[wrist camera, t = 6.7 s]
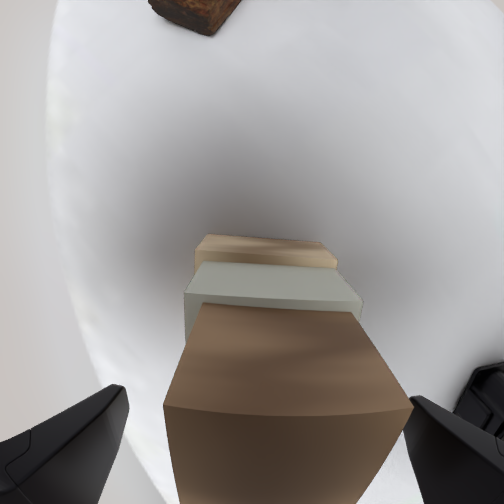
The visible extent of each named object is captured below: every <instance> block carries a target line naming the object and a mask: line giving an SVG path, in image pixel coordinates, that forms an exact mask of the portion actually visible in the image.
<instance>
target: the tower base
mask: <svg viewBox="0 0 504 504" xmlns="http://www.w3.org/2000/svg"><path fill="white" fill-rule="evenodd" d="M203 261H217V262H234V263H251V264H268V265H286V266H305V267H324V268H335V269H336V270H337V264H338V260H337V259H336V257H335V256H334V255H333V254H332V253H331V252H329V251H328V250H327V249H326V248H325V247H324V246H323V245H322V244H321V243H320V242H308V241H296V240H283V239H270V238H256V237H243V236H229V235H214V234H207V235H206V237H205V238H204V239H203V240H202V242H201V243H200V244H199V245H198V246H197V248H196V249H195V265H194V275H195V274H196V272H197V270H198V269H199V267H200V265H201V264H202V262H203Z"/></svg>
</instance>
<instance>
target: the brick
mask: <svg viewBox="0 0 504 504" xmlns="http://www.w3.org/2000/svg"><path fill="white" fill-rule="evenodd" d="M240 1H241V0H148V3H149V4H150V5H151V6H152V9H153V10H154V11H155V12H156V13H157V14H158V15H160V16H162V17H164V18H166V19H167V20H169V21H172V22H174V23H176V24H179V25H181V26H184V27H186V28H188V29H192V30H195V31H197V32H198V33H200V34H203V35H206V36H207V35H212V34H214V33H215V32H216V30H217V29H218V28H219V26H220V25H221V24H222V23H223V22H224V21H225V19H226V18H227V17H228V16H229V15H230V14H231V13H232V11H233V10H234V9H235V8H236V6H237V5H238V4H239V2H240Z"/></svg>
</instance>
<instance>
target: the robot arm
mask: <svg viewBox="0 0 504 504" xmlns="http://www.w3.org/2000/svg"><path fill="white" fill-rule="evenodd" d="M409 400H410V402H411V403H412V405H413V406H414V408H413V410H412V412H411V414H410V416H409V418H408V420H407V422H406V424H405V426H404V428H403V432H404V437H405V441H406V446H407V450H408V454H409V458H410V461H411V464H412V467H413V470H414V473H415V476H416V479H417V482H418V485H419V489H420V492H421V495H422V498H423V502H424V504H504V363H500V364H495V365H491V366H486V367H482V368H478V369H476V370H475V371H474V373H473V375H472V377H471V380H470V382H469V384H468V386H467V388H466V390H465V392H464V394H463V396H462V398H461V400H460V402H459V404H458V406H457V408H456V409H455V411H454V413H451V412H449V411H447V410H445V409H444V408H442V407H440V406H438V405H437V404H435V403H433V402H432V401H430V400H428V399H426V398H425V397H423V396H421V395H418V396H412V397H410V398H409ZM128 413H129V402H128V397H127V393H126V389H125V387H124V386H121V385H116V384H111V385H109V386H107V387H106V388H104V389H102V390H101V391H99V392H97V393H95V394H93V395H92V396H90V397H88V398H86V399H85V400H83V401H81V402H79V403H77V404H75V405H74V406H72V407H70V408H68V409H66V410H65V411H63V412H61V413H59V414H57V415H55V416H53V417H52V418H50V419H48V420H46V421H44V422H42V423H40V424H38V425H36V426H34V427H33V428H31V430H30V429H29V430H26V431H25V432H23V433H21V434H18V435H16V436H14V437H12V438H10V439H8V440H5V441H3V442H0V504H98V501H99V499H100V496H101V493H102V490H103V488H104V485H105V483H106V480H107V478H108V475H109V473H110V470H111V468H112V465H113V463H114V460H115V458H116V455H117V452H118V450H119V446H120V443H121V439H122V435H123V431H124V428H125V424H126V420H127V417H128Z"/></svg>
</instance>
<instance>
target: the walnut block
mask: <svg viewBox="0 0 504 504" xmlns="http://www.w3.org/2000/svg"><path fill="white" fill-rule="evenodd" d="M413 408H414V406H413V405H412V403H411V402H410V400H409V398H408V397H407V395H406V394H405V392H404V390H403V389H402V387H401V386H400V384H399V383H398V381H397V379H396V378H395V376H394V375H393V373H392V372H391V370H390V369H389V367H388V366H387V364H386V363H385V361H384V360H383V358H382V357H381V355H380V353H379V352H378V350H377V349H376V347H375V346H374V344H373V343H372V342H371V340H370V339H369V337H368V336H367V334H366V333H365V331H364V330H363V328H362V327H361V325H360V324H359V322H358V321H357V319H356V318H355V317H354V315H353V314H352V312H340V311H316V310H297V309H280V308H265V307H252V306H239V305H227V304H216V303H205V302H203V303H202V305H201V308H200V310H199V313H198V315H197V318H196V320H195V323H194V325H193V328H192V330H191V333H190V335H189V338H188V340H187V343H186V345H185V348H184V351H183V353H182V356H181V358H180V361H179V363H178V366H177V369H176V371H175V374H174V377H173V379H172V382H171V384H170V387H169V390H168V392H167V395H166V398H165V400H164V403H163V410H164V417H165V424H166V431H167V438H168V444H169V450H170V456H171V462H172V467H173V472H174V478H175V483H176V487H177V492H178V497H179V501H180V504H356V503H357V502H358V500H359V499H360V497H361V496H362V495H363V493H364V492H365V490H366V489H367V488H368V486H369V485H370V483H371V482H372V480H373V479H374V477H375V476H376V474H377V473H378V471H379V469H380V468H381V466H382V465H383V463H384V461H385V460H386V458H387V457H388V455H389V453H390V451H391V450H392V448H393V446H394V445H395V443H396V441H397V439H398V437H399V436H400V434H401V432H402V430H403V428H404V426H405V424H406V422H407V420H408V418H409V416H410V414H411V412H412V410H413Z"/></svg>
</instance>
